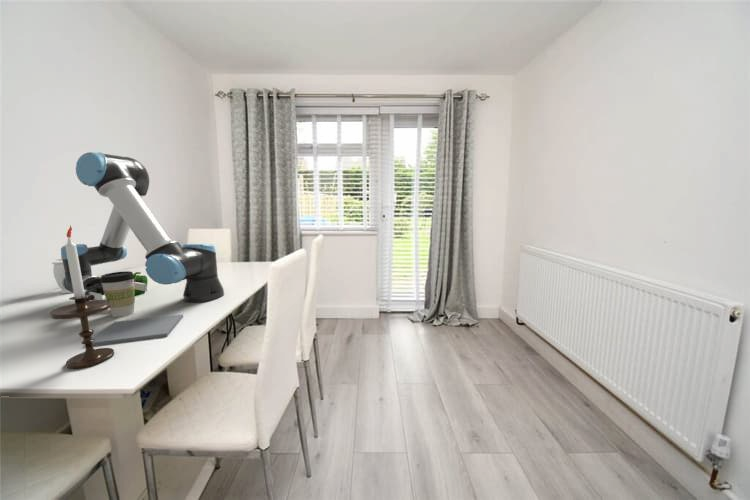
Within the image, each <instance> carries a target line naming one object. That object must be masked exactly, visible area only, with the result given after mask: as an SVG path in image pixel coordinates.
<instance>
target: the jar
mask: <svg viewBox="0 0 750 500" xmlns="http://www.w3.org/2000/svg"><path fill="white" fill-rule="evenodd" d="M51 264H53V268H52V269H53V270H52V271H53V277H54V279H55V281H56V284H57V287H59V288H60V289H61V290H60V294H74V293H73V292H70V291H68V290H66V289H65V288H64V287H63V285H62V281H63V279H64V277H65V270H64V265H63V261H62V258H59V259H54V260H52V261H51Z"/></svg>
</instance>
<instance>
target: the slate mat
mask: <svg viewBox="0 0 750 500" xmlns="http://www.w3.org/2000/svg"><path fill="white" fill-rule="evenodd" d="M183 318H184V314H175V315H167V316H166V315H165V316H157V317H156V316H155V317H145V318H137V319H130V320H128V319H127V320H118V321H113V322H112V323H110V324H109V325H108V326H106V327H105V328H104V329H102V330H101V331H99V333H97V334H96V335H93V337H92V339H94V340H95V341H94V342H92V345H93V347H94V346H95V347H96V346H102V345H110V344H118V343H125V342H126V343H127V342H134V341H135V342H136V341H144V340H150V339H158V338H166V337H169V336H170V334H171V332H172V331H174V329H175V328H176V327H177V325H178V324H179V323H180V322H181V320H182V319H183Z"/></svg>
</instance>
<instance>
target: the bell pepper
mask: <svg viewBox="0 0 750 500" xmlns="http://www.w3.org/2000/svg"><path fill="white" fill-rule="evenodd" d="M141 273H142V272H141V271H137V272H134V273H133V275H135V278H134V280H143V283H144V284H146V286H147V287H148V277H147V275H141ZM145 293H146V291H141V290H136V289H135V296H137V295H142V294H145Z"/></svg>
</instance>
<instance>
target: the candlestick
mask: <svg viewBox="0 0 750 500" xmlns="http://www.w3.org/2000/svg"><path fill="white" fill-rule="evenodd" d="M72 230H73V228H72V226H71V225H70V226H69V228H68V230H67V233H66V237H67V242H66V244H64V246H65V248H66V253H67V259H68V264H69V270H70V275H71V280H72V286H73V291H74V293H73V295H74V296H71V297H69V298H68V300H72V301H74V303H70V304H66V305H63V306H60V307H57V308H55V309H52V310H51V311H50V313H49V314H50V318H51V319H53V320H69V319H80V325H81V326H80V327H81V331H80V332H79V333H78V336H79V337H80V338H83V340H82V341H81V342H80V343H81V345H84V348H85V350H84V352H80V353H78V354H76V355H74V356H72V357H70V358H69V359H67V360H66V363H65V366H66V367H65V368H67V369H68V370H81V369H82V370H83V369H87V368H90V367H94V366H97V365H100V364H102V363H105V362H106V361H108V360H110V359H111V358H113V357H114V356H115V350H114V348H111V347H102V348H101V347H99V348H94V346H93V345H92V342H94V341H95V340H94V339H92V338H93V337H92V336H94V332H95V330H94V329H92V328H90V324H89V318H88V317H89V316H92V315H95V314H98V313H101V312H104V311H106V310H108V309H110V307H111V302H110V301H109V300H106V299H103V300H89V301H86V297H89V296H91V295H85V293H84V287H83V282H82V276H81V270H80V265H79V259H78V254H77V248H76V244H77V243H74V242H73V241H72V237H71V236H72Z"/></svg>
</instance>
